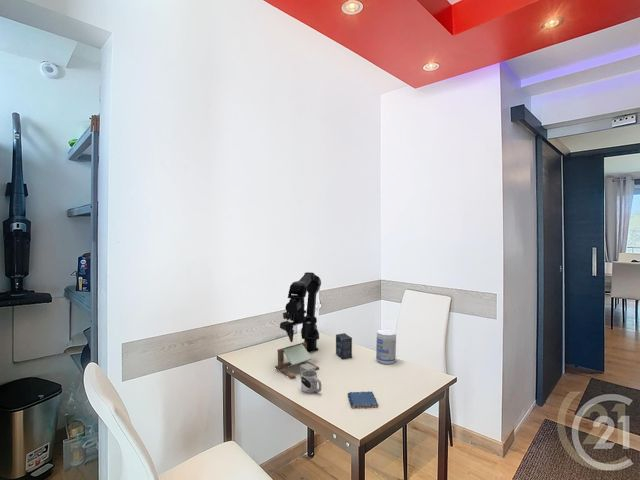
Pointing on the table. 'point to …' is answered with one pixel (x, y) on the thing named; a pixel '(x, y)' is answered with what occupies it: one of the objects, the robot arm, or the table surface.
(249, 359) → the table surface
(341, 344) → the box
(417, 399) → the table surface
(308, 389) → the mug
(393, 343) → the supplement tub
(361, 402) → the woven mat
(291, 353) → the trapdoor
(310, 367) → the grey rectangular block
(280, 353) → the frame
